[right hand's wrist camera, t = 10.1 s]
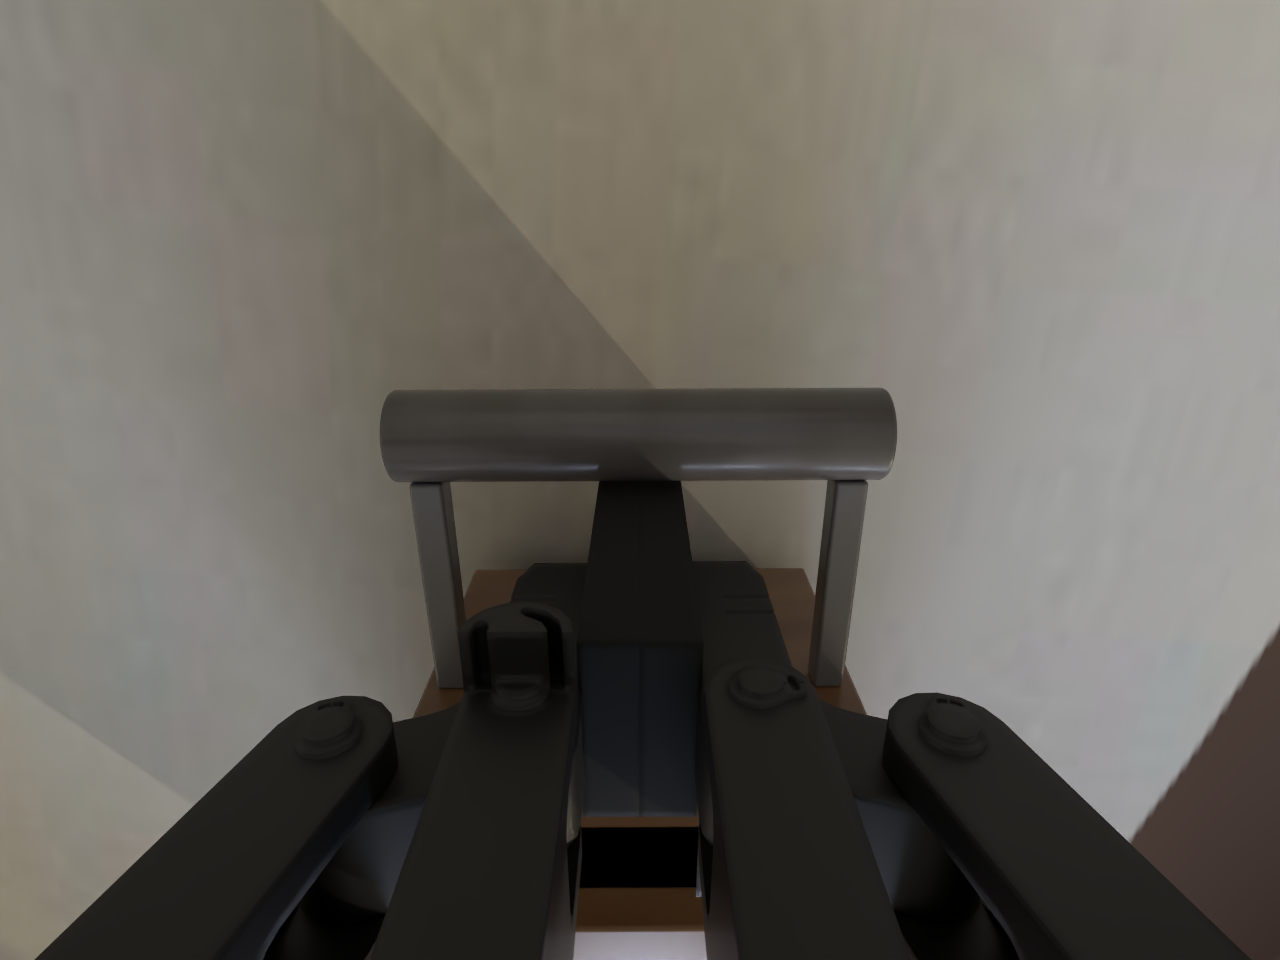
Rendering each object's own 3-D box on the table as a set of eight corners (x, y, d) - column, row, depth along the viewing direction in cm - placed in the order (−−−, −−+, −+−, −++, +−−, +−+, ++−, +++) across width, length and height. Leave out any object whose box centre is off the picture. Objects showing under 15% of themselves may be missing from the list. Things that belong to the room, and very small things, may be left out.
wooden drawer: (450, 339, 16) (321, 442, 10) (825, 337, 16) (954, 438, 10) (520, 993, 25) (478, 1279, 19) (762, 992, 25) (807, 1277, 19)
